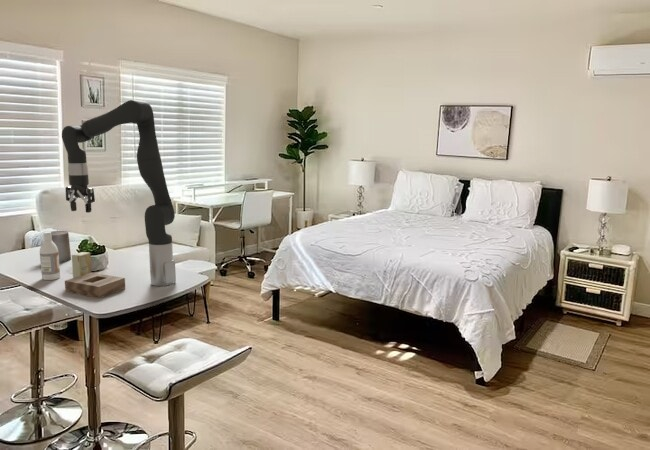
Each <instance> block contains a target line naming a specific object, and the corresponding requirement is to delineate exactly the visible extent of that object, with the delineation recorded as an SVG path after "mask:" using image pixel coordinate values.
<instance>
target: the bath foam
mask: <svg viewBox="0 0 650 450" xmlns="http://www.w3.org/2000/svg"><path fill="white" fill-rule="evenodd" d="M51 232H52V231H45V232H43V242H42V244H41V245H40V247H39V261H40V270H41V273H40V274H41V279H42V280H43V281H55V280H58V279H60V278H61V267H60V262H59V254H58V248H57V246H56V245H55V243H54V242H53V241H52V236H51Z"/></svg>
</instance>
